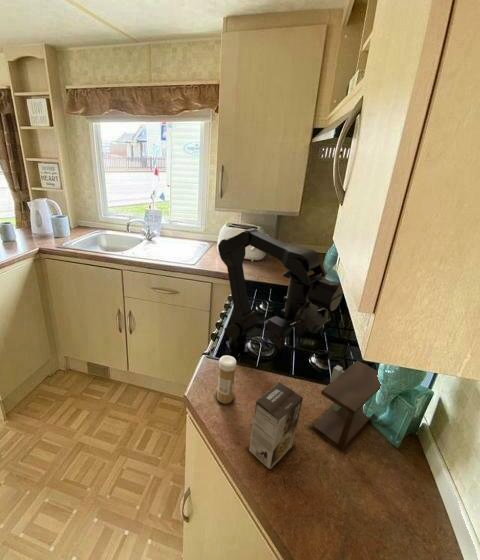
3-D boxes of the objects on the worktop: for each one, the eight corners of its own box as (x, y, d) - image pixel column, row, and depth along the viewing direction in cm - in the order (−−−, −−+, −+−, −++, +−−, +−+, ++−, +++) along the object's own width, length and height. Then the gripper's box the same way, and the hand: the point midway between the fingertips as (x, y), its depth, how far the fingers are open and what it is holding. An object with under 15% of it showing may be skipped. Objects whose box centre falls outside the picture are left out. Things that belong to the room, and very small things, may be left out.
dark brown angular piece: (311, 428, 80) (321, 390, 75) (346, 396, 90) (357, 360, 85) (341, 451, 75) (354, 411, 69) (374, 413, 85) (388, 376, 79)
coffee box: (270, 429, 80) (279, 380, 73) (292, 447, 75) (304, 396, 68) (247, 450, 74) (254, 399, 67) (269, 470, 70) (280, 418, 63)
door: (320, 400, 87) (327, 372, 82) (335, 387, 91) (343, 360, 87) (336, 411, 83) (345, 382, 79) (351, 397, 88) (360, 369, 84)
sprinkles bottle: (235, 398, 89) (240, 360, 83) (225, 406, 86) (229, 368, 80) (223, 389, 92) (226, 352, 86) (213, 397, 89) (215, 359, 83)
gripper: (304, 319, 74) (293, 370, 80) (343, 297, 85) (331, 344, 91) (266, 300, 82) (259, 349, 88) (307, 282, 92) (298, 327, 99)
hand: (289, 342), depth 91 cm, fingers open, 9 cm apart
